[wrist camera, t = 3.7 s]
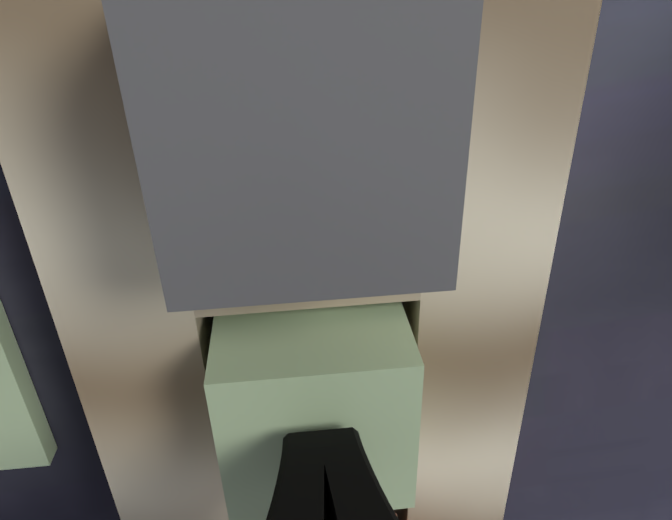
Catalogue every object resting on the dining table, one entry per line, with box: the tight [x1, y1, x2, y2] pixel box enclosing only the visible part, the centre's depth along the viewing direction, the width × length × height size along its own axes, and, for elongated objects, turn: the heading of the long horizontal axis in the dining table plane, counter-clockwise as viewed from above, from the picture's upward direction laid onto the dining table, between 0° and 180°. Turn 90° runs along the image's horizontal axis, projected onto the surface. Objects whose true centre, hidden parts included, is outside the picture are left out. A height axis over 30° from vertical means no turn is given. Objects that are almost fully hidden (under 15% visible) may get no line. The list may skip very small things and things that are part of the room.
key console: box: [0, 0, 602, 520], centre depth 14 cm, size 20×10×2 cm, turn 1°
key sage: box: [204, 302, 424, 520], centre depth 12 cm, size 4×4×3 cm
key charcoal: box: [101, 0, 484, 312], centre depth 8 cm, size 4×4×3 cm
